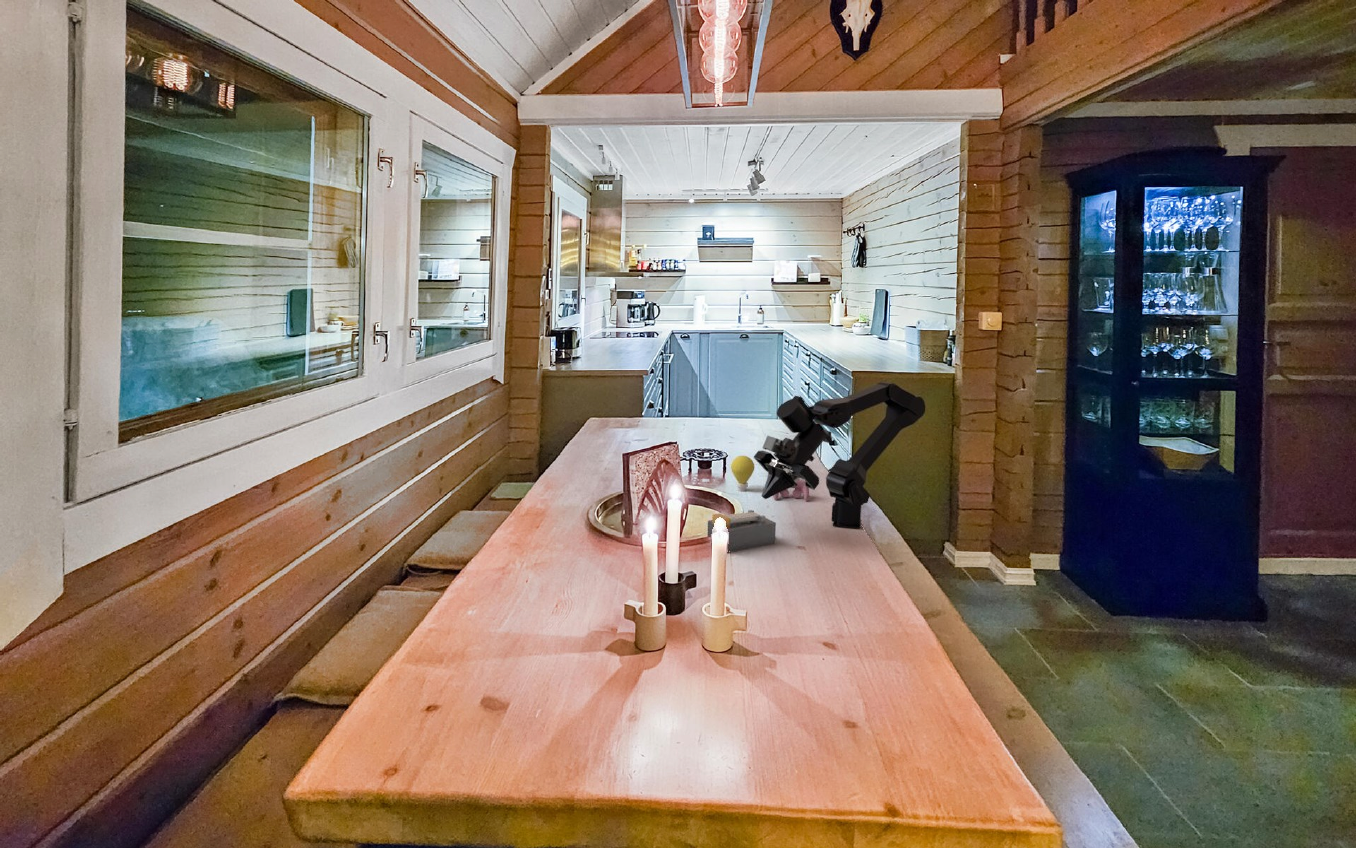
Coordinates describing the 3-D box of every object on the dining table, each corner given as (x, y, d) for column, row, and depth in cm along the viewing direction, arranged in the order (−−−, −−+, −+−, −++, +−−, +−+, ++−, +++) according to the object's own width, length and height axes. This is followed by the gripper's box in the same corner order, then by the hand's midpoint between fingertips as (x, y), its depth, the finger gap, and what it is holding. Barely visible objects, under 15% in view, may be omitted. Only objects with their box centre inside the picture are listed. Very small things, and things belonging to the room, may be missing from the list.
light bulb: (754, 493, 208) (755, 458, 206) (730, 493, 208) (731, 458, 206) (752, 487, 215) (753, 453, 213) (729, 486, 215) (730, 453, 213)
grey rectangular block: (755, 533, 174) (756, 504, 173) (775, 544, 167) (776, 514, 166) (707, 541, 168) (708, 512, 167) (726, 553, 161) (726, 522, 160)
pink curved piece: (808, 504, 204) (808, 479, 206) (809, 500, 200) (809, 475, 202) (772, 502, 205) (772, 477, 207) (772, 499, 201) (773, 474, 203)
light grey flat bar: (754, 516, 170) (754, 511, 170) (762, 519, 167) (762, 515, 167) (723, 519, 166) (723, 515, 166) (730, 523, 163) (730, 518, 163)
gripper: (761, 416, 176) (720, 467, 173) (810, 430, 160) (767, 486, 157) (787, 445, 181) (748, 495, 178) (837, 462, 165) (795, 516, 162)
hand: (763, 497), depth 168 cm, fingers closed
